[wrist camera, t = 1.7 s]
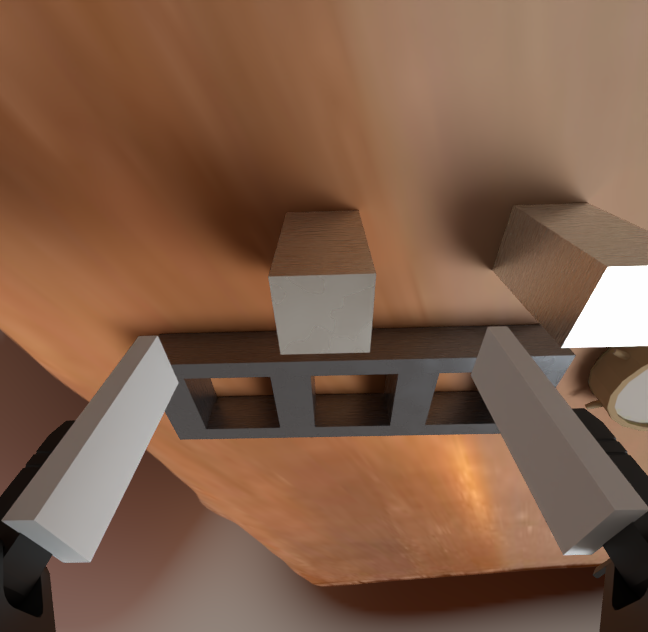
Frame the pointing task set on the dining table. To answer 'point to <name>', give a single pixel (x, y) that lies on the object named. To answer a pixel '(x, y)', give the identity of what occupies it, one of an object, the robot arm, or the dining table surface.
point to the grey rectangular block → (323, 284)
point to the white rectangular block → (578, 273)
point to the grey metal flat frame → (340, 409)
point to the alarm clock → (622, 385)
